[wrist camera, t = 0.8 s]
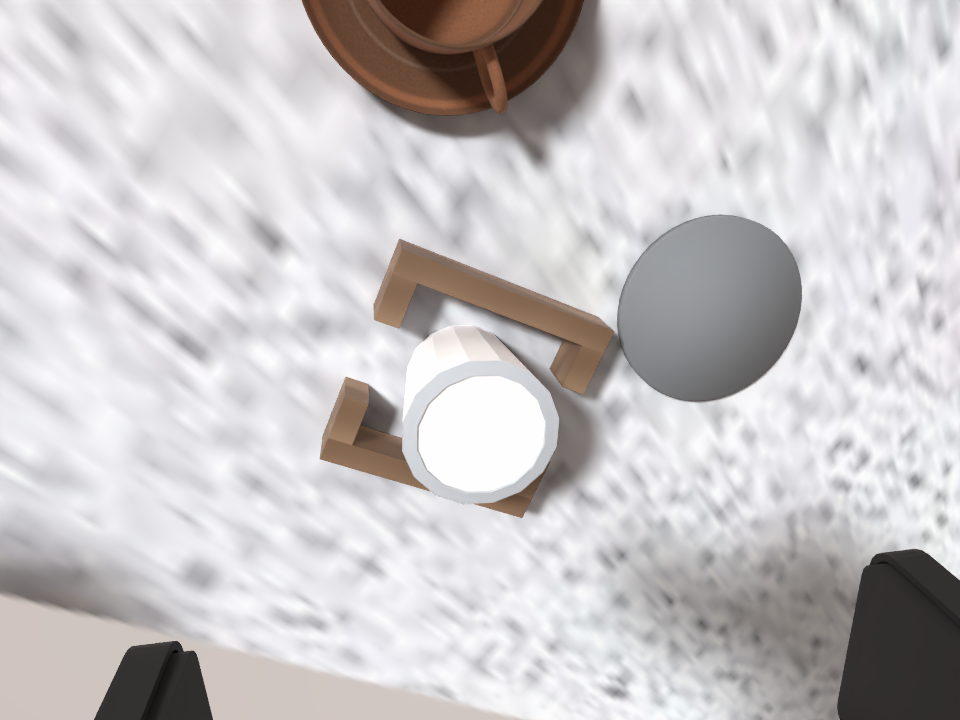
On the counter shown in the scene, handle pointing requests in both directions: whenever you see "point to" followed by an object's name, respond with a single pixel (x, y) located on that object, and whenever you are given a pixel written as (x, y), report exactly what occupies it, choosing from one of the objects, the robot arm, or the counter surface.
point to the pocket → (419, 265)
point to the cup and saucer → (445, 48)
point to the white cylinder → (475, 417)
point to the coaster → (709, 307)
